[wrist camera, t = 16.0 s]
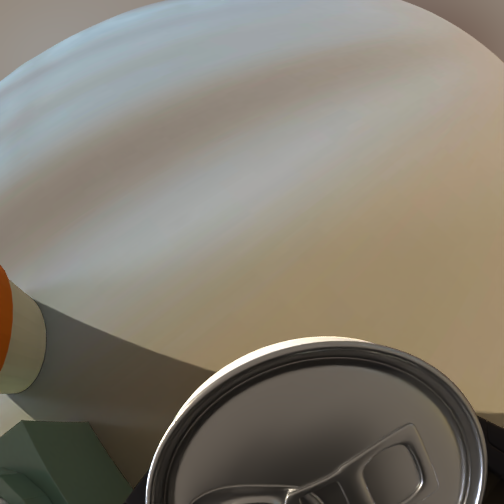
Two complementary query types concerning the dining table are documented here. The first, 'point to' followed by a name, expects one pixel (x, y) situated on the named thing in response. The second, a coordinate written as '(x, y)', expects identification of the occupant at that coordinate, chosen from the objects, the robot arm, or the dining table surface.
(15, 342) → the reusable coffee cup
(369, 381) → the can
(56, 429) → the button housing
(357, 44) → the dining table surface
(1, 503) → the white button cap
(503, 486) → the robot arm
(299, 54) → the dining table surface
